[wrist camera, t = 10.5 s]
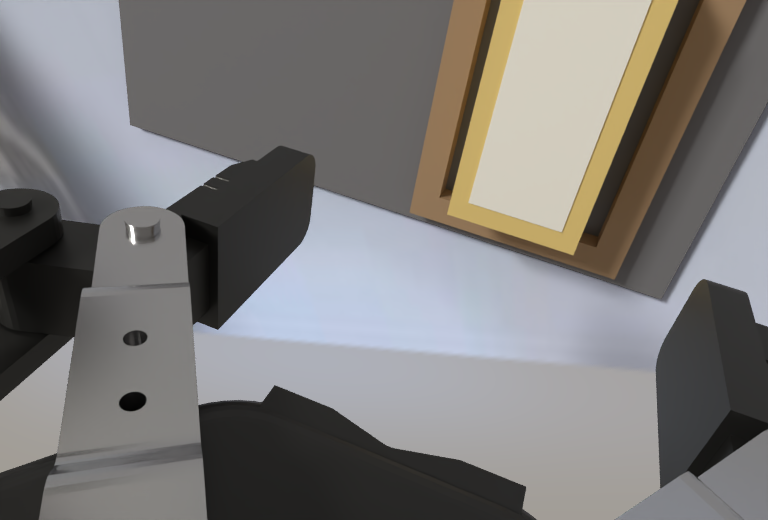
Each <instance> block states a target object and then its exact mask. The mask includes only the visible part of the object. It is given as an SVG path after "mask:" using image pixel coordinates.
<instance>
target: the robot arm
mask: <svg viewBox="0 0 768 520" xmlns="http://www.w3.org/2000/svg"><path fill="white" fill-rule="evenodd" d="M315 167H316V164H315V158H314V156H313V155H310V154H307V153H304V152H301V151H298V150H294V149H291V148H288V147H285V146H278V147H276V148H275V149H273V150H272V151H271V152H269V153H268V154H266V155H265V156H263V157H262V158H261V159H259V160H258V161H256V160H253V159H252V160H248V161H245V162H241V163H238V164H234V165H231V166H229V167H228V168H226V169H225V170H223V171H222V172H220V173H219V174H217V175H216V177H215V178H214V177H213V178H211V179H210V180H208V181H207V182H205V183H204V185H203V186H199V187H198V188H196V189H195V190H193V191H192V192H190V193H189V194H187V195H186V196H184V197H183V198H182V199H180V200H179V201H177V202H176V203H174V204H173V205H171V206H170V207H168V208H167V209H163V208H158V207H151V206H140V207H131V208H126V209H122V210H119V211H116V212H114V213H112V214H110V215H109V216H107V217H106V218H105V219H104V220H103V221H102V223H101V224H100V225H97V224H89V223H81V222H74V221H66V220H62V219H61V214H60V208H59V203H58V201H57V199H56V198H55V197H54V196H52V195H50V194H49V193H46V192H43V191H39V190H34V189H7V190H1V191H0V401H1V400H2V399H3V398H4V397H5V396H6V395H8V393H10V392H11V391H12V390H13V389H14V388H15V387H17V386H18V385H19V384H20V383H21V382H22V381H24V380H25V379H26V378H27V377H28V376H29V375H30V374H32V373H33V372H34V371H35V370H36V369H37V368H38V367H40V366H41V365H42V364H43V363H44V362H45V361H46V360H47V359H49V358H50V357H51V356H52V355H53V354H54V353H56V352H57V351H58V350H59V349H60V348H61V347H62V346H64V345H65V344H66V343H67V342H68V341H69V340H70V339H72V338H73V337H75V338H74V345H73V351H72V358H71V364H70V371H69V378H68V384H67V391H66V398H65V404H64V411H63V418H62V424H61V431H60V437H59V444H58V451H57V453H56V454H54V455H51V456H48V457H45V458H42V459H39V460H36V461H33V462H31V463H28V464H25V465H22V466H19V467H16V468H13V469H10V470H7V471H4V472H2V473H0V520H536V519H535V518H534V517H533V516H532V515H530V514H529V513H527V512H526V511H524V510H523V509H522V507H523V501H524V496H525V491H526V487H525V486H523V485H520V484H518V483H515V482H513V481H510V480H508V479H505V478H503V477H501V476H498V475H496V474H493V473H491V472H488V471H486V470H483V469H481V468H478V467H476V466H473V465H471V464H468V463H466V462H463V461H461V460H456V459H451V458H445V457H439V456H433V455H428V454H423V453H417V452H411V451H406V450H400V449H395V448H391V447H389V446H386V445H385V444H383V443H381V442H380V441H378V440H377V439H376V438H374V437H373V436H371V435H370V434H369V433H367V432H366V431H364V430H363V429H361V428H360V427H358V426H357V425H355V424H354V423H353V422H351V421H350V420H348V419H347V418H345V417H344V416H342V415H341V414H339V413H338V412H337V411H335V410H334V409H332V408H330V407H327V406H325V405H322V404H320V403H317V402H315V401H312V400H310V399H308V398H305V397H302V396H300V395H297V394H295V393H293V392H290V391H288V390H285V389H283V388H280V387H278V386H274V387H273V388H272V390H271V391H270V393H269V394H268V395H267V397H266V398H265V399H264V401H263V402H256V401H243V400H234V401H233V400H232V401H220V402H211V403H206V404H202V405H198V395H197V380H196V366H195V352H194V339H193V325H194V324H195V323H196V322H200V323H202V324H205V325H207V326H210V327H212V328H215V329H217V330H218V329H219V328H220V327H221V326H222V325H223V324H224V323H225V322H226V321H227V320H228V319H229V318H230V317H231V316H232V315H233V314H234V313H235V312H236V310H237V309H238V308H239V307H240V306H241V305H242V304H243V303H244V302H245V301H246V300H247V299H248V298H249V297H250V296H251V295H252V294H253V293H254V292H255V291H256V290H257V289H258V288H259V287H260V285H261V284H262V283H263V282H264V281H265V280H266V279H267V278H268V277H269V276H270V275H271V274H272V273H273V272H274V271H275V270H276V269H277V268H278V267H279V266H280V265H281V264H282V263H283V261H284V260H285V259H286V258H287V257H288V256H289V255H290V254H291V253H292V252H293V251H294V250H295V249H296V248H297V247H298V246H299V245H300V243H301V242H302V240H303V239H304V237H305V235H306V232H307V230H308V226H309V222H310V216H311V206H312V197H313V187H314V177H315ZM656 388H657V413H658V434H659V435H658V437H659V460H660V461H659V463H660V488H661V489H659V490H658V491H657V492H655V493H654V494H652V495H650V496H649V497H648V498H646V499H645V500H643V501H642V502H640V503H639V504H637V505H636V506H634V507H633V508H631V509H630V510H628V511H627V512H625V513H624V514H622V515H621V516H619V517H618V518H616V519H615V520H768V327H767V326H764V325H761V324H758V323H755V319H754V315H753V312H752V308H751V305H750V301H749V297H748V295H747V293H746V292H744V291H740V290H737V289H734V288H731V287H728V286H724V285H721V284H718V283H715V282H712V281H709V280H705V279H703V280H701V281H700V282H699V283H698V284H697V285H696V287H695V288H694V290H693V291H692V293H691V295H690V296H689V298H688V300H687V302H686V303H685V305H684V307H683V309H682V310H681V312H680V314H679V315H678V317H677V319H676V321H675V322H674V324H673V326H672V328H671V329H670V331H669V333H668V335H667V336H666V338H665V340H664V342H663V344H662V346H661V349H660V352H659V355H658V359H657V364H656Z"/></svg>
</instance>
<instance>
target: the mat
mask: <svg viewBox="0 0 768 520" xmlns="http://www.w3.org/2000/svg"><path fill="white" fill-rule="evenodd" d="M500 2H501V0H119V8H120V19H121V30H122V40H123V51H124V62H125V73H126V84H127V94H128V105H129V116H130V125H132V126H135V127H138V128H141V129H144V130H147V131H150V132H154V133H157V134H160V135H163V136H166V137H169V138H172V139H175V140H178V141H181V142H184V143H187V144H190V145H193V146H196V147H199V148H202V149H205V150H208V151H211V152H214V153H217V154H220V155H223V156H226V157H230V158H233V159H236V160H239V161H242V162H245V161H248V160H252V159H253V160H256V161H258V160H259V159H261V158H262V157H263V156H265V155H266V154H268V153H269V152H271V151H272V150H273V149H275V148H276V147H278V146H285V147H288V148H291V149H294V150H298V151H301V152H304V153H307V154H310V155H313V156H314V158H315V164H316V167H315V177H314V185H315V186H318V187H321V188H324V189H327V190H330V191H333V192H336V193H339V194H342V195H345V196H348V197H351V198H354V199H357V200H360V201H363V202H366V203H369V204H372V205H375V206H378V207H382V208H385V209H388V210H391V211H394V212H397V213H400V214H403V215H406V216H409V217H412V218H415V219H418V220H421V221H424V222H427V223H430V224H433V225H436V226H439V227H442V228H445V229H448V230H451V231H454V232H458V233H461V234H464V235H467V236H470V237H473V238H476V239H479V240H482V241H485V242H488V243H491V244H494V245H497V246H500V247H503V248H506V249H509V250H512V251H515V252H518V253H521V254H524V255H527V256H530V257H534V258H537V259H540V260H543V261H546V262H549V263H552V264H555V265H558V266H561V267H564V268H567V269H570V270H573V271H576V272H579V273H582V274H585V275H588V276H591V277H594V278H597V279H600V280H603V281H606V282H610V283H613V284H616V285H619V286H622V287H625V288H628V289H631V290H634V291H637V292H640V293H643V294H646V295H649V296H652V297H655V298H658V299H662V297H663V295H664V293H665V291H666V289H667V288H668V286H669V284H670V282H671V280H672V278H673V277H674V275H675V273H676V271H677V269H678V267H679V265H680V264H681V262H682V260H683V258H684V256H685V254H686V253H687V251H688V249H689V247H690V245H691V243H692V241H693V240H694V238H695V236H696V234H697V232H698V230H699V229H700V227H701V225H702V223H703V221H704V219H705V217H706V216H707V214H708V212H709V210H710V208H711V206H712V205H713V203H714V201H715V199H716V197H717V195H718V193H719V192H720V190H721V188H722V186H723V184H724V182H725V180H726V179H727V177H728V175H729V173H730V171H731V169H732V168H733V166H734V164H735V162H736V160H737V158H738V156H739V155H740V153H741V151H742V149H743V147H744V145H745V144H746V142H747V140H748V138H749V136H750V134H751V132H752V131H753V129H754V127H755V125H756V123H757V121H758V120H759V118H760V116H761V114H762V112H763V110H764V108H765V107H766V105H767V103H768V0H678V3H677V5H676V7H675V10H674V12H673V15H672V17H671V20H670V22H669V24H668V27H667V29H666V32H665V34H664V37H663V39H662V41H661V44H660V46H659V49H658V51H657V54H656V56H655V58H654V61H653V63H652V66H651V68H650V71H649V73H648V75H647V78H646V80H645V83H644V85H643V88H642V90H641V92H640V95H639V97H638V100H637V102H636V105H635V107H634V109H633V112H632V114H631V117H630V119H629V121H628V124H627V126H626V129H625V131H624V134H623V136H622V138H621V141H620V143H619V146H618V148H617V151H616V153H615V155H614V158H613V160H612V163H611V165H610V168H609V170H608V172H607V175H606V177H605V180H604V182H603V185H602V187H601V189H600V192H599V194H598V197H597V199H596V202H595V204H594V206H593V209H592V211H591V214H590V216H589V219H588V221H587V223H586V226H585V228H584V231H583V233H582V235H581V238H580V240H579V243H578V245H577V248H576V250H575V252H574V255H571V254H568V253H565V252H562V251H558V250H555V249H552V248H549V247H546V246H543V245H540V244H537V243H534V242H531V241H528V240H525V239H521V238H518V237H515V236H512V235H509V234H506V233H503V232H500V231H497V230H494V229H491V228H488V227H484V226H481V225H478V224H475V223H472V222H469V221H466V220H463V219H460V218H457V217H454V216H451V215H448V214H447V212H448V208H449V204H450V200H451V197H452V193H453V189H454V185H455V181H456V177H457V173H458V169H459V165H460V161H461V157H462V153H463V149H464V145H465V141H466V137H467V133H468V129H469V125H470V121H471V117H472V113H473V109H474V105H475V101H476V98H477V94H478V90H479V86H480V82H481V78H482V74H483V70H484V66H485V62H486V58H487V54H488V50H489V46H490V42H491V38H492V34H493V30H494V26H495V22H496V18H497V14H498V10H499V6H500Z"/></svg>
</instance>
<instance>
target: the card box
mask: <svg viewBox="0 0 768 520" xmlns="http://www.w3.org/2000/svg"><path fill="white" fill-rule="evenodd" d="M677 3H678V0H501V2H500V6H499V10H498V14H497V18H496V22H495V26H494V30H493V34H492V38H491V42H490V46H489V50H488V54H487V58H486V62H485V66H484V70H483V74H482V78H481V82H480V86H479V90H478V94H477V98H476V101H475V105H474V109H473V113H472V117H471V121H470V125H469V129H468V133H467V137H466V141H465V145H464V149H463V153H462V157H461V161H460V165H459V169H458V173H457V177H456V181H455V185H454V189H453V193H452V197H451V200H450V204H449V208H448V212H447V214H448V215H451V216H454V217H457V218H460V219H463V220H466V221H469V222H472V223H475V224H478V225H481V226H484V227H488V228H491V229H494V230H497V231H500V232H503V233H506V234H509V235H512V236H515V237H518V238H521V239H525V240H528V241H531V242H534V243H537V244H540V245H543V246H546V247H549V248H552V249H555V250H558V251H562V252H565V253H568V254H571V255H574V252H575V250H576V248H577V245H578V243H579V240H580V238H581V235H582V233H583V231H584V228H585V226H586V223H587V221H588V219H589V216H590V214H591V211H592V209H593V206H594V204H595V202H596V199H597V197H598V194H599V192H600V189H601V187H602V185H603V182H604V180H605V177H606V175H607V172H608V170H609V168H610V165H611V163H612V160H613V158H614V155H615V153H616V151H617V148H618V146H619V143H620V141H621V138H622V136H623V134H624V131H625V129H626V126H627V124H628V121H629V119H630V117H631V114H632V112H633V109H634V107H635V105H636V102H637V100H638V97H639V95H640V92H641V90H642V88H643V85H644V83H645V80H646V78H647V75H648V73H649V71H650V68H651V66H652V63H653V61H654V58H655V56H656V54H657V51H658V49H659V46H660V44H661V41H662V39H663V37H664V34H665V32H666V29H667V27H668V24H669V22H670V20H671V17H672V15H673V12H674V10H675V7H676V5H677Z"/></svg>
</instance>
